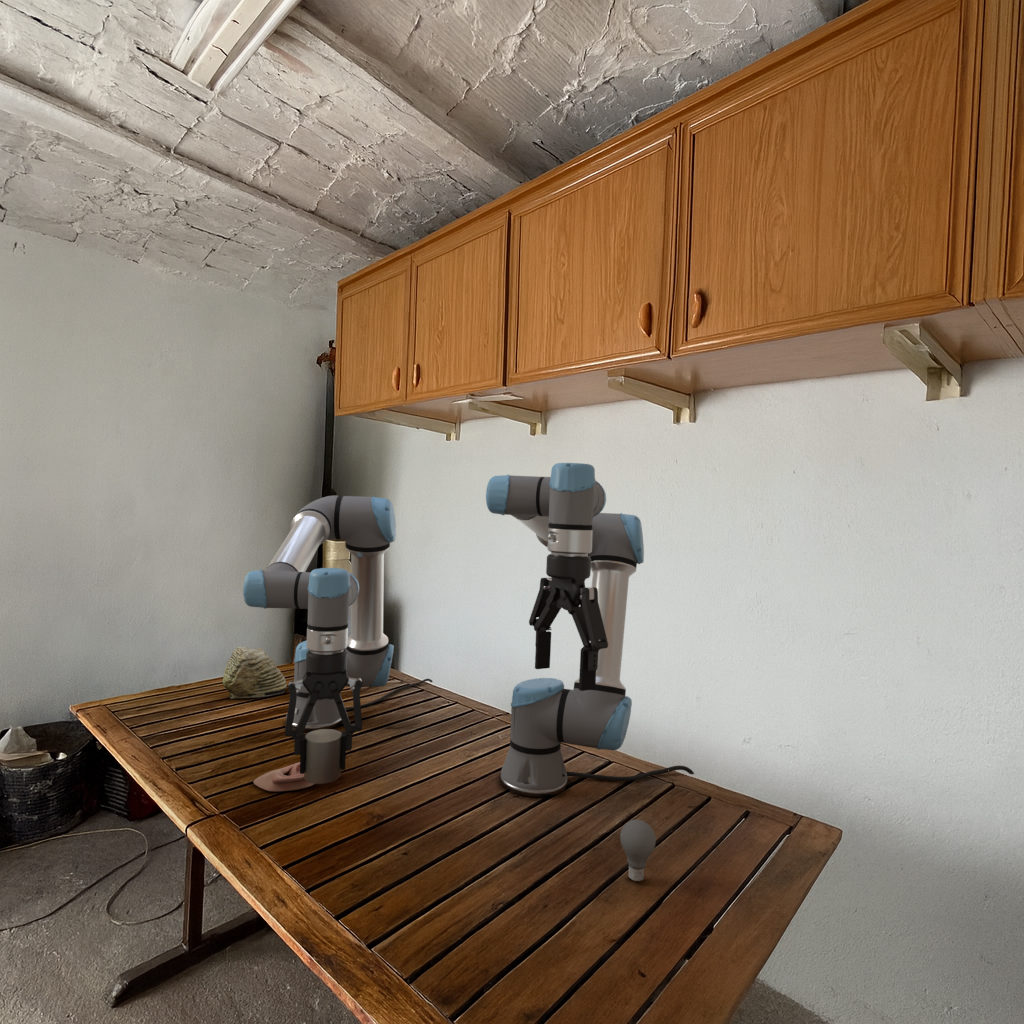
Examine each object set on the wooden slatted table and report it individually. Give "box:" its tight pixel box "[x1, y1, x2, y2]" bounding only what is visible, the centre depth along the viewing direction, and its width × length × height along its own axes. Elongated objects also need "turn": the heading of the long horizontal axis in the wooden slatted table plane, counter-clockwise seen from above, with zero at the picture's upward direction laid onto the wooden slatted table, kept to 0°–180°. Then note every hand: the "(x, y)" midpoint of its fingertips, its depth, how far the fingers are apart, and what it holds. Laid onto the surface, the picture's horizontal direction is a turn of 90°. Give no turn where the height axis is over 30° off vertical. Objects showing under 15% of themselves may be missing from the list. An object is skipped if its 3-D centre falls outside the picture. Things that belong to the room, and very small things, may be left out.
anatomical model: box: [253, 761, 315, 792], centre depth 140 cm, size 13×4×12 cm
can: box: [304, 728, 342, 785], centre depth 121 cm, size 7×7×8 cm
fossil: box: [222, 646, 288, 699], centre depth 198 cm, size 9×18×15 cm, turn 132°
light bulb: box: [619, 819, 657, 882], centre depth 109 cm, size 6×6×10 cm
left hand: (322, 768), depth 121 cm, fingers closed on can, 7 cm apart
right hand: (563, 678), depth 108 cm, fingers open, 13 cm apart
